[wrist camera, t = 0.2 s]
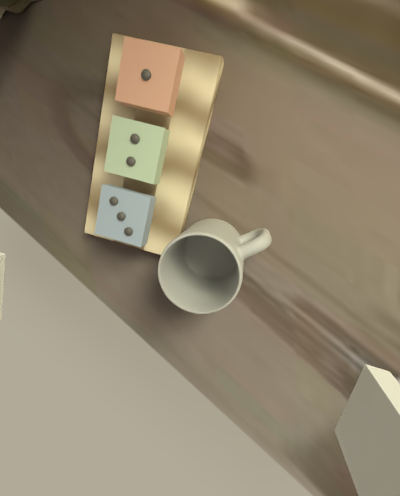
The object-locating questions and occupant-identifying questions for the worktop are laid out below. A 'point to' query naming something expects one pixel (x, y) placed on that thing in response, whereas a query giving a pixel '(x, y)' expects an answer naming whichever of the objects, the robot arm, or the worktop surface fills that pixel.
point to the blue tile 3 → (124, 215)
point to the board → (178, 148)
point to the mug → (207, 265)
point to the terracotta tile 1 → (149, 76)
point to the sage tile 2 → (136, 150)
